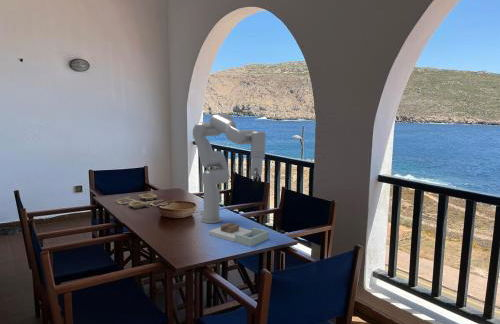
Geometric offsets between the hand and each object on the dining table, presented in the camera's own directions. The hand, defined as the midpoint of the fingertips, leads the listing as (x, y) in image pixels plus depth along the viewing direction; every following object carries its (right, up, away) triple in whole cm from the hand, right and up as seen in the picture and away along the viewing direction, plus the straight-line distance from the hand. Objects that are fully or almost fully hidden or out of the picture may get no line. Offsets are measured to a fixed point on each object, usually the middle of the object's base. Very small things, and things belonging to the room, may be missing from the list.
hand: (256, 186), depth 200 cm
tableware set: (-80, -17, +67) cm, 106 cm away
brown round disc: (-15, -24, +3) cm, 28 cm away
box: (-3, -28, -5) cm, 28 cm away
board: (-14, -26, +3) cm, 30 cm away
